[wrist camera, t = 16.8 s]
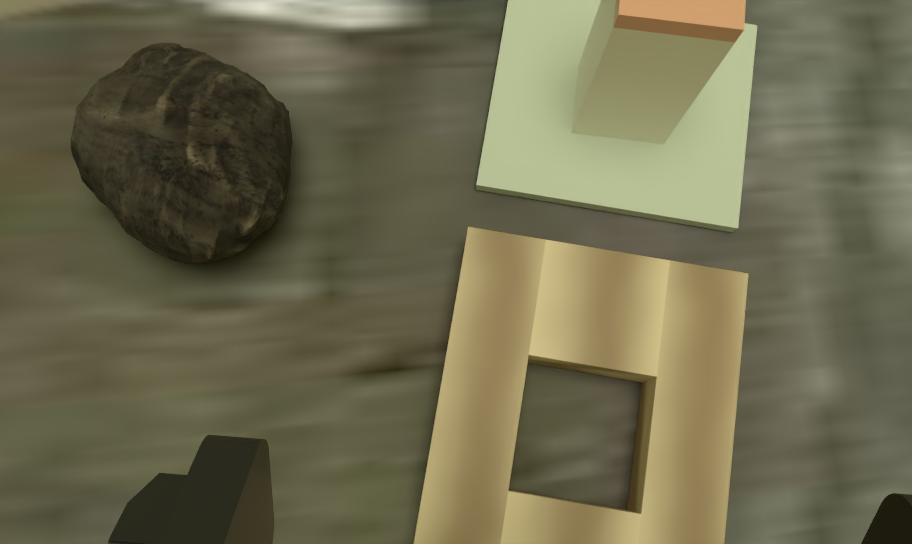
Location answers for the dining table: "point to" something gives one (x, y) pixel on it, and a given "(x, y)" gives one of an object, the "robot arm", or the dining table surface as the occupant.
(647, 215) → the mat
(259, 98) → the rock
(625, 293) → the wooden peg board
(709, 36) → the plug
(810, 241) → the dining table surface
